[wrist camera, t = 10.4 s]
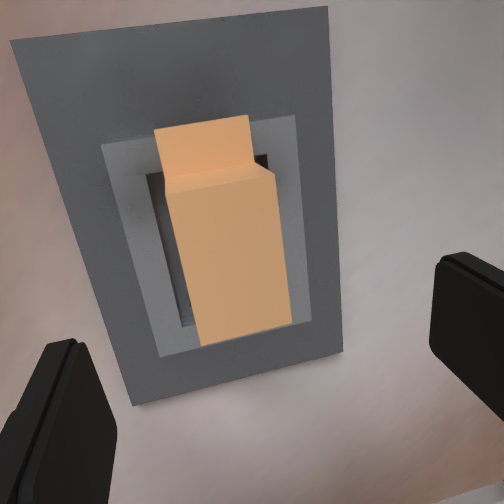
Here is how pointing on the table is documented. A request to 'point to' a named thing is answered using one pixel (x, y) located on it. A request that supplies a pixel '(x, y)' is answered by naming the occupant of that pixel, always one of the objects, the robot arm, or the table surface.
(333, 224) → the pocket plate
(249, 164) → the tabbed block
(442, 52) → the table surface
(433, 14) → the table surface
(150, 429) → the table surface
